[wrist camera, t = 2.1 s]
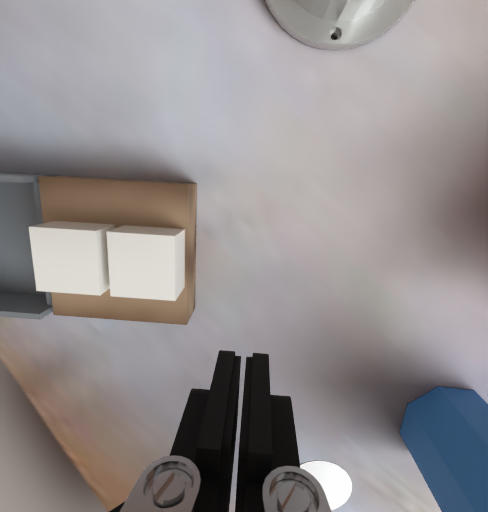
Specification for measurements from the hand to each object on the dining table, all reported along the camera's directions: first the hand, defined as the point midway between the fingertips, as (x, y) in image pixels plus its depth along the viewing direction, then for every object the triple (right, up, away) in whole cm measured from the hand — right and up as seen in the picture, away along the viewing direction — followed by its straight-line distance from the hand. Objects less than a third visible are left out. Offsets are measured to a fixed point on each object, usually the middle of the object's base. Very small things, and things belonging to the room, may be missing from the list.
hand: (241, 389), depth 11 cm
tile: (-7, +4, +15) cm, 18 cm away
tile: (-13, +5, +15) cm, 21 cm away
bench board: (-10, +6, +19) cm, 22 cm away
